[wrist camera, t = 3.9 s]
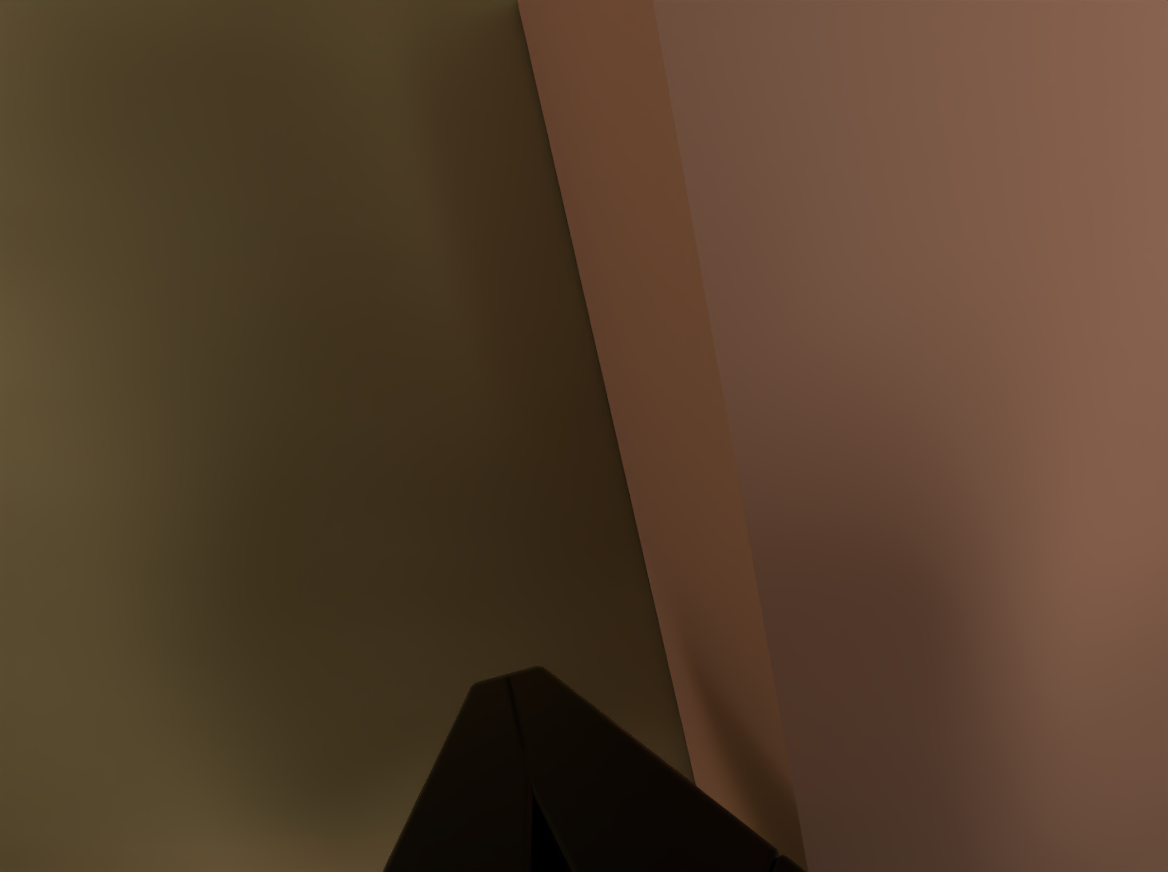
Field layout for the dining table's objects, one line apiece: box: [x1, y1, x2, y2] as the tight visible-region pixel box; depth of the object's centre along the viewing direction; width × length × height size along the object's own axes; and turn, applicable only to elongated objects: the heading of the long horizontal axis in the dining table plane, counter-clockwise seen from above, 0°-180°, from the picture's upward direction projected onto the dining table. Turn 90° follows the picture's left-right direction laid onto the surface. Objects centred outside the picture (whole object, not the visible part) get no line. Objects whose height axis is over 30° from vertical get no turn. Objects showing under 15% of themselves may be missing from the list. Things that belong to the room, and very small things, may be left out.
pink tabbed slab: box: [517, 0, 1168, 872], centre depth 8 cm, size 12×8×4 cm, turn 13°
